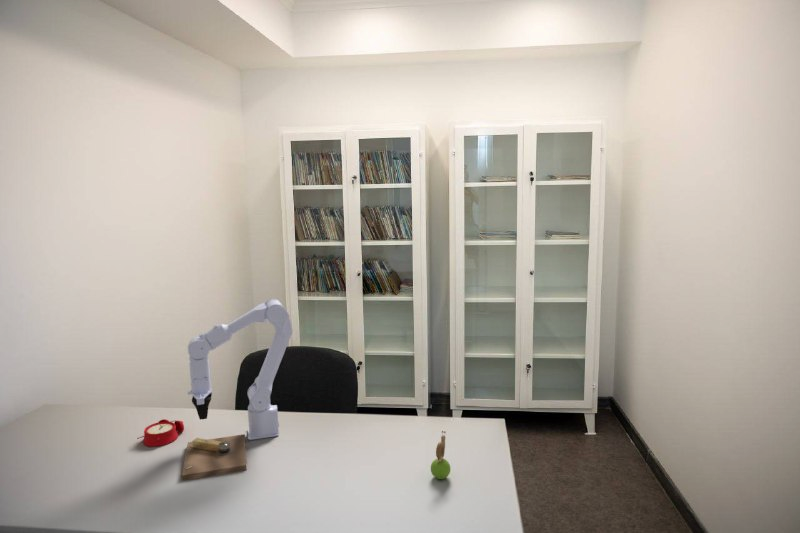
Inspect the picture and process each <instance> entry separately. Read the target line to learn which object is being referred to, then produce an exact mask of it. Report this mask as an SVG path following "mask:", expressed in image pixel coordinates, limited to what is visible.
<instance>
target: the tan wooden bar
mask: <svg viewBox="0 0 800 533" xmlns="http://www.w3.org/2000/svg"><path fill="white" fill-rule="evenodd" d="M191 442H192V443H193V448H198V449H204V450H210V451H216V452H219V453H221V454H224V453H228V452H229V451H230V443H229V442H227V441H225V442H220V441H213V440H208V439H207V438H206V439H205V438H201V437H196V438H194V439H193V440H192V441H191Z"/></svg>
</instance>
